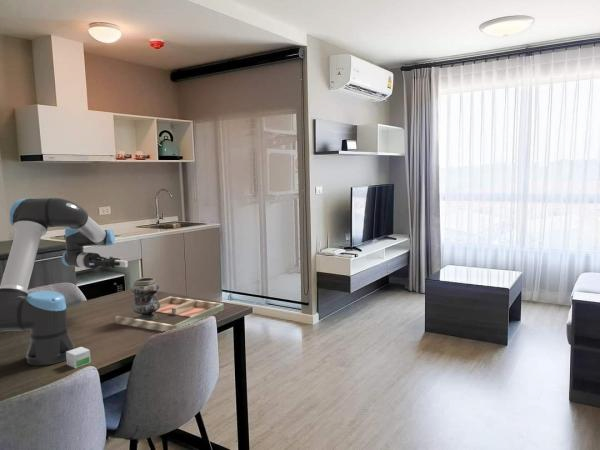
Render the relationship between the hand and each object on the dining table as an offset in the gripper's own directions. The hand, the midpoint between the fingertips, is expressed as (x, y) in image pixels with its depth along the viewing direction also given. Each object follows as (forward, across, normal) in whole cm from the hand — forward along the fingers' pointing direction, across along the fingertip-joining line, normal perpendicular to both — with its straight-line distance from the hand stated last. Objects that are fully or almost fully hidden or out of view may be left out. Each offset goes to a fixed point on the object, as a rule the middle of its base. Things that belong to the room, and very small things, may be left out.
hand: (126, 264), depth 208 cm
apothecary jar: (+10, 0, -24) cm, 26 cm away
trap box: (+19, -7, -24) cm, 31 cm away
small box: (+25, +47, -24) cm, 58 cm away
